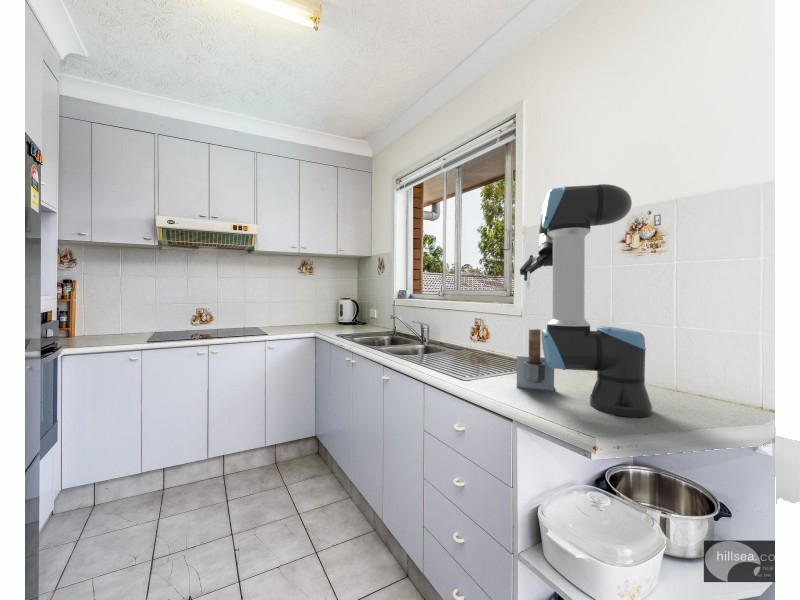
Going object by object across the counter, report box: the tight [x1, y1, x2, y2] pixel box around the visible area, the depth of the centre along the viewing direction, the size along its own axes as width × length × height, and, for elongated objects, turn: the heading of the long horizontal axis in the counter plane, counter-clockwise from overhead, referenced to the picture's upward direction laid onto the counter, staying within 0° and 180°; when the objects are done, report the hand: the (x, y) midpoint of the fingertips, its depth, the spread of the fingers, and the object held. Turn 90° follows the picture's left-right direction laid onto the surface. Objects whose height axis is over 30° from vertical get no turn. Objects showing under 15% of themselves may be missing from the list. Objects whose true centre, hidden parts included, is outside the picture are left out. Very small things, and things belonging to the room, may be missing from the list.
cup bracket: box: [524, 361, 545, 383], centre depth 118 cm, size 8×6×6 cm
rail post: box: [528, 328, 542, 365], centre depth 117 cm, size 4×4×16 cm
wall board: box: [516, 355, 555, 392], centre depth 124 cm, size 5×12×11 cm, turn 67°
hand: (547, 285), depth 130 cm, fingers open, 13 cm apart
